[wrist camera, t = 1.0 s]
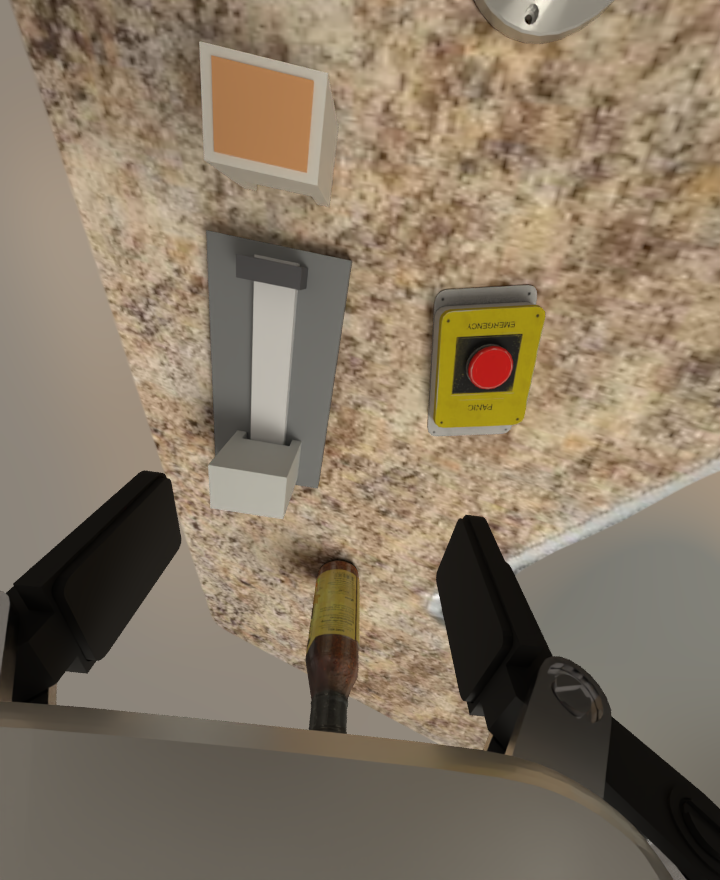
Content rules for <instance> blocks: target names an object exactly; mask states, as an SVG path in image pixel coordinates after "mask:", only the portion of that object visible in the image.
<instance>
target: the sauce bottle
mask: <svg viewBox="0 0 720 880" xmlns="http://www.w3.org/2000/svg"><path fill="white" fill-rule="evenodd" d="M358 650H359V577H358V572H357V569H356V567H355V566H353V565H352V564H350V563H348V562H346V561H338V560H335V561H331V562H328V563H326V564H324V565H323V566H322V567H321V569H320V570H319V573H318V578H317V580H316V587H315V594H314V601H313V608H312V616H311V623H310V630H309V638H308V644H307V652H306V666H307V673H308V679H309V686H310V693H311V699H312V701H311V714H310V724H309V730H314V731H323V732H333V733H342V734H347V732H346V723H347V707H348V697H349V694H350V691H351V689H352V687H353V685H354V683H355V681H356V679H357V675H358Z"/></svg>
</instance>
